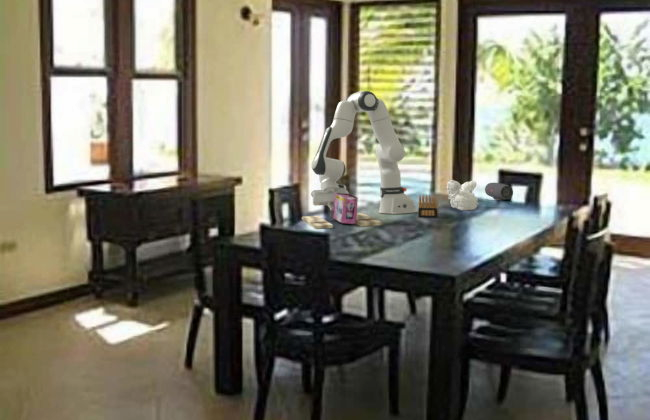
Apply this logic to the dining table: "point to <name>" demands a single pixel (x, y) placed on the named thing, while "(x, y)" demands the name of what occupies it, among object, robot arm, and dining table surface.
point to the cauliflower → (462, 195)
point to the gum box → (345, 208)
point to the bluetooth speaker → (499, 191)
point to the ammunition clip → (428, 207)
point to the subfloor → (321, 223)
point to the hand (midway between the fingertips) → (333, 210)
